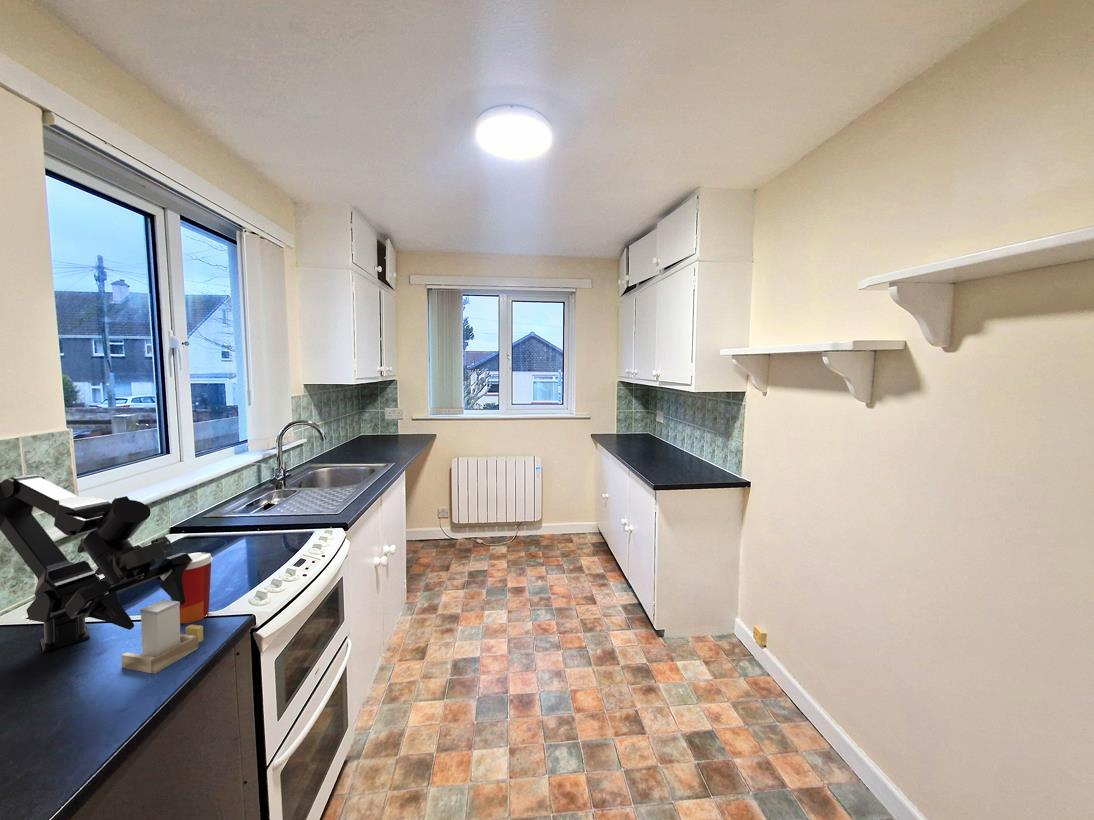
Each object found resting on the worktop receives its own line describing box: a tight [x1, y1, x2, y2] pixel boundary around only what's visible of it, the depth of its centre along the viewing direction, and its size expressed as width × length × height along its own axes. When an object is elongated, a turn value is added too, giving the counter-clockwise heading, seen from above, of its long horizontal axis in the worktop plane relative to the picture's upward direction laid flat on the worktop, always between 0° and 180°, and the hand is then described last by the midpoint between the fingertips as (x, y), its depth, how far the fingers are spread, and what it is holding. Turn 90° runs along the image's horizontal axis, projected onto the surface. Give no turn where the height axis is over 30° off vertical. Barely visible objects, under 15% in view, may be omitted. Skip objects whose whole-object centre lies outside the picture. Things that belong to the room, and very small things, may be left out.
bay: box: [121, 633, 199, 674], centre depth 84 cm, size 8×8×2 cm
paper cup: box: [179, 551, 214, 625], centre depth 99 cm, size 8×8×14 cm
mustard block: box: [185, 623, 204, 644], centre depth 90 cm, size 3×1×3 cm, turn 78°
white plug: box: [140, 599, 181, 657], centre depth 84 cm, size 4×4×10 cm
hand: (159, 615), depth 84 cm, fingers open, 9 cm apart
